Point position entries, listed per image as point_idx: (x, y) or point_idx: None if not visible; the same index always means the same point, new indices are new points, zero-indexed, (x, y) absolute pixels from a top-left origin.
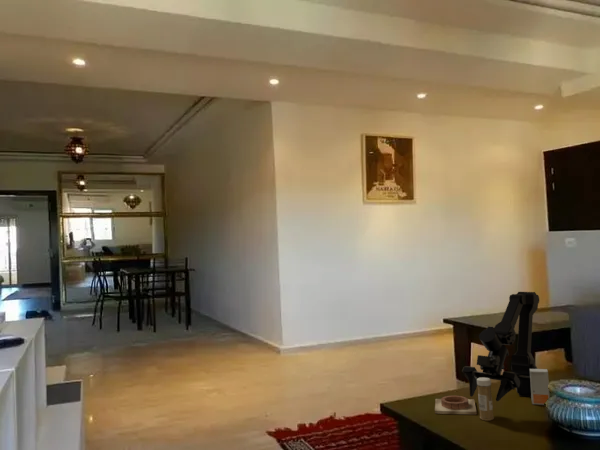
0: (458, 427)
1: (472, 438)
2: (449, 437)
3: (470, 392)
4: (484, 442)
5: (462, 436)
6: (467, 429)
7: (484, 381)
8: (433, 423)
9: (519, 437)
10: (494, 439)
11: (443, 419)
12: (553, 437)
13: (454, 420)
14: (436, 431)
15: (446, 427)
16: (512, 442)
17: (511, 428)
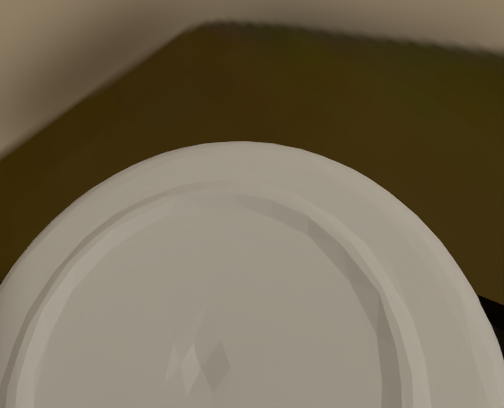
0: (324, 130)
1: (190, 80)
2: (272, 32)
3: (501, 311)
4: (131, 83)
5: (236, 69)
6: (270, 139)
7: (98, 185)
8: (470, 88)
9: (11, 219)
10: (106, 129)
11: (495, 167)
12: None
13: (430, 197)
14: (364, 36)
15: (370, 93)
16: (30, 151)
17: None
